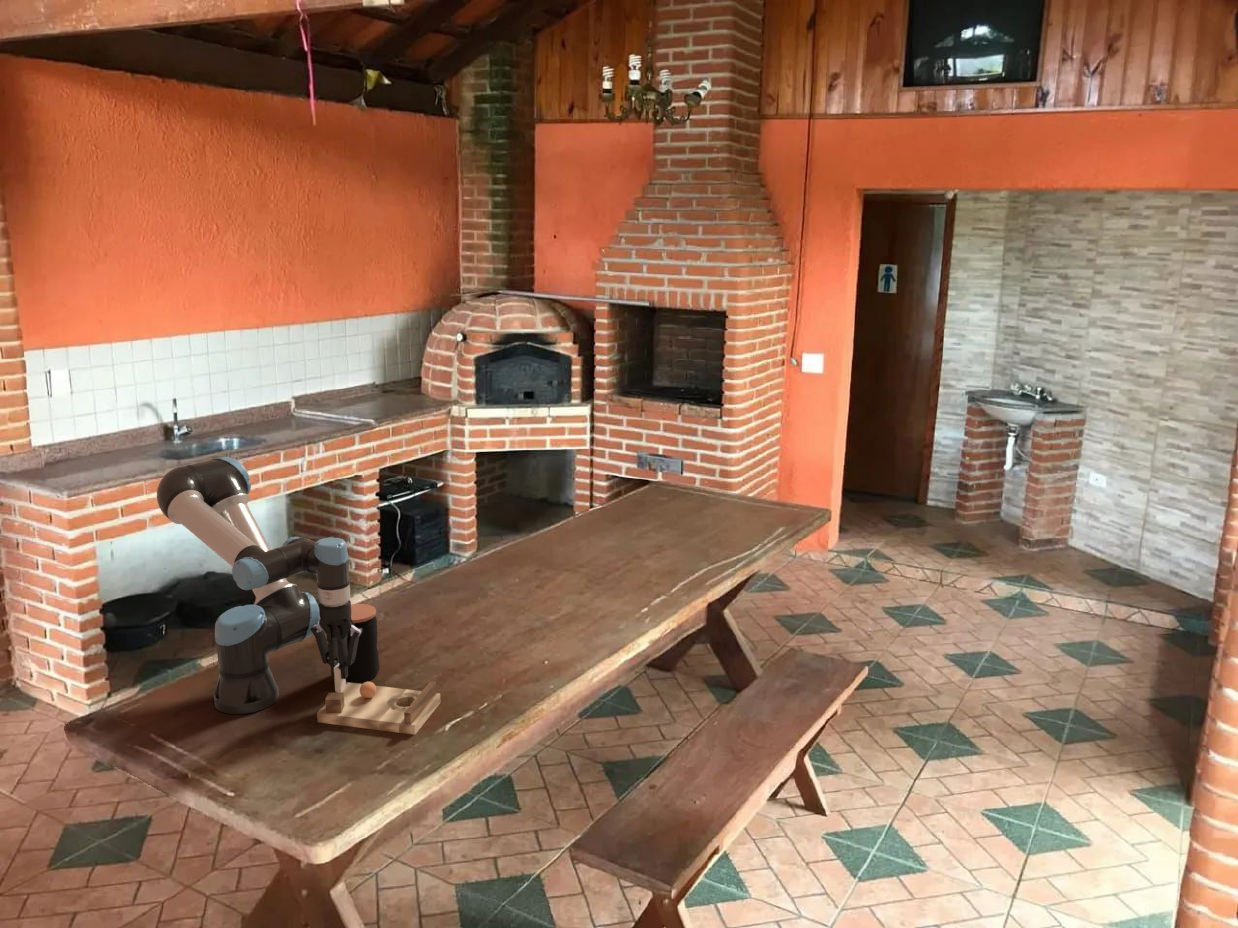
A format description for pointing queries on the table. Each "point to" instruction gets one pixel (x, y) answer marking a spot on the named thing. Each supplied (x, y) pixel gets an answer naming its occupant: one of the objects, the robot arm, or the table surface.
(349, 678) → the coffee jar
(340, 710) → the walnut cube
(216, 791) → the table surface
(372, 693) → the ball
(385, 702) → the board
